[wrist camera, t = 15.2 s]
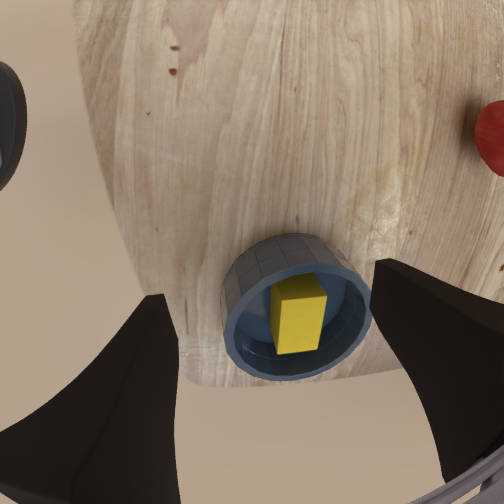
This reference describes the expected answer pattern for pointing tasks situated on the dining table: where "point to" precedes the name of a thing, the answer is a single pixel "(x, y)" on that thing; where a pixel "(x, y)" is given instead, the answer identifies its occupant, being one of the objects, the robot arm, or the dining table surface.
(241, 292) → the bowl
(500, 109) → the onion
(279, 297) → the yellow block
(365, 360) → the dining table surface
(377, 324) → the robot arm
